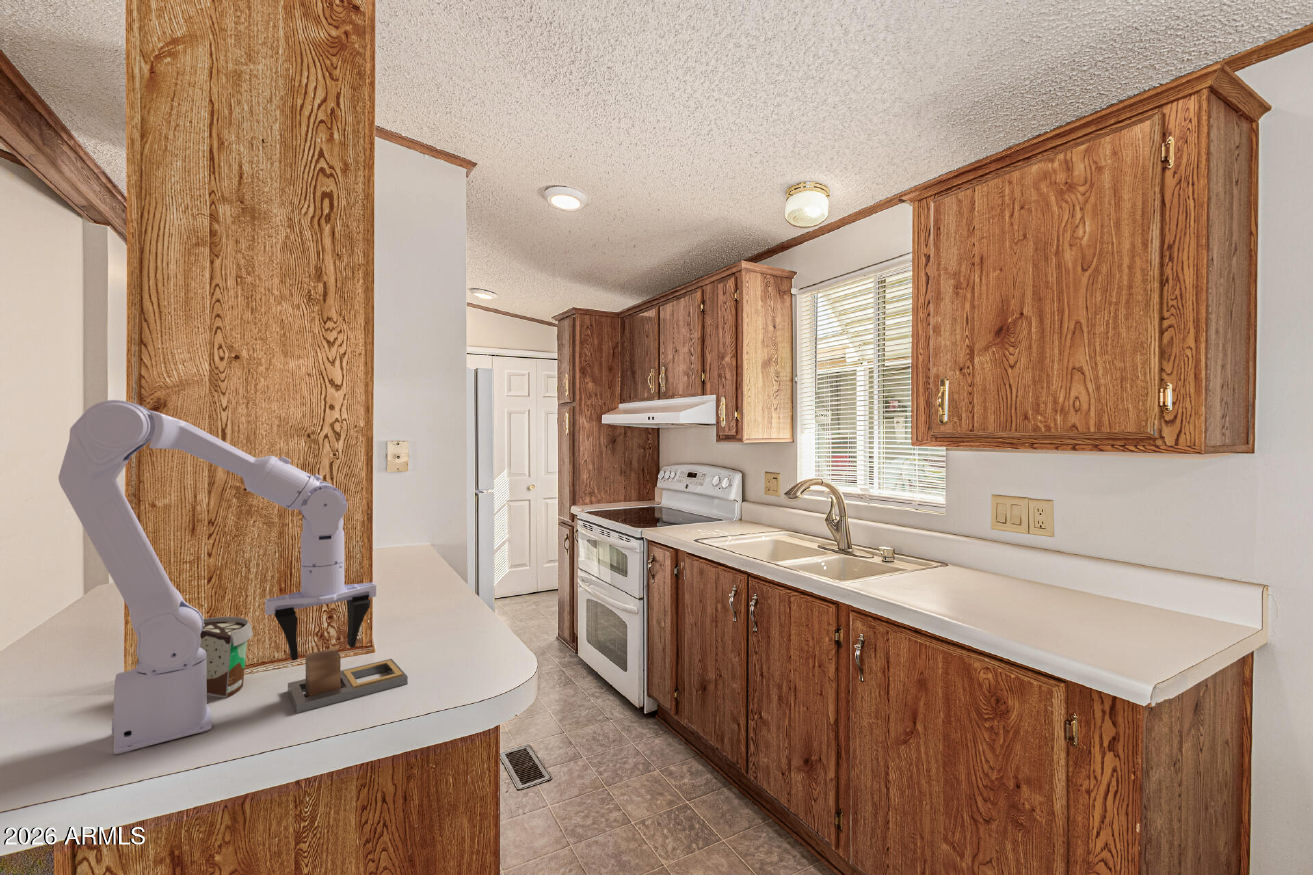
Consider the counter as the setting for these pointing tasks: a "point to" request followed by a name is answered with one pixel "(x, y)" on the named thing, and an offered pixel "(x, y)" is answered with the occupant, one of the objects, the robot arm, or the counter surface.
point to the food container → (225, 653)
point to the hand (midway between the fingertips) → (323, 651)
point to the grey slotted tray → (349, 685)
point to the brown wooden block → (323, 672)
